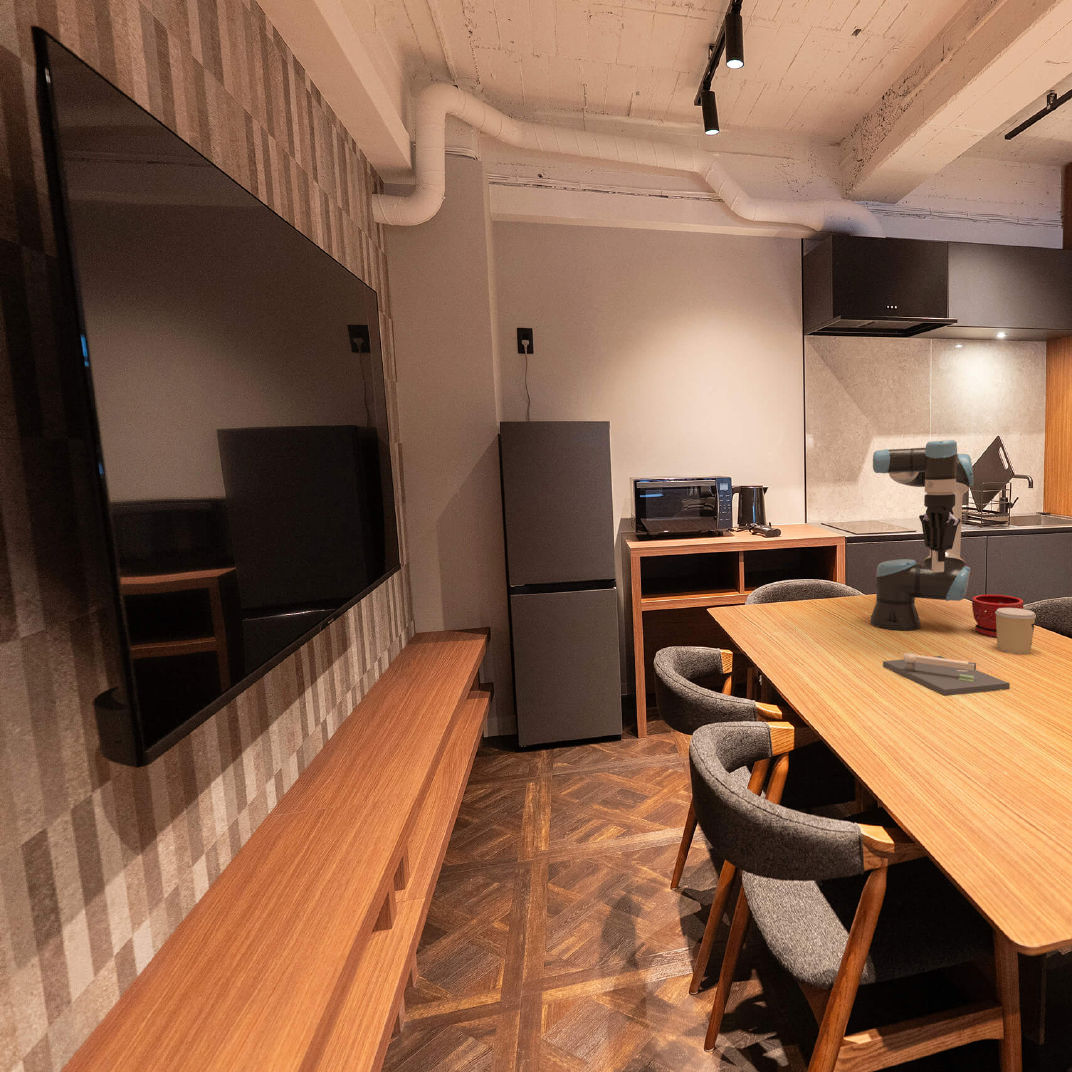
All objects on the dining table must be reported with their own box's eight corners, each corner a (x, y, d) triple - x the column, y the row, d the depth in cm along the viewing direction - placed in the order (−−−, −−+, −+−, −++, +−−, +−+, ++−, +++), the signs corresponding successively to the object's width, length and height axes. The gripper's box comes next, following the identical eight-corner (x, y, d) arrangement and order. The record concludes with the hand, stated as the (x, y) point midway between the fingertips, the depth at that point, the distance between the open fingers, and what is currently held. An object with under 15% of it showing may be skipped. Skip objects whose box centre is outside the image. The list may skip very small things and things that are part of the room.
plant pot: (974, 626, 198) (976, 592, 197) (1024, 632, 189) (1026, 596, 188) (967, 635, 189) (969, 599, 188) (1019, 642, 180) (1021, 604, 179)
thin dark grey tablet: (882, 666, 166) (883, 653, 165) (939, 660, 168) (940, 648, 167) (944, 695, 144) (945, 680, 144) (1009, 688, 146) (1010, 674, 145)
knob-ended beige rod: (902, 661, 157) (903, 655, 157) (904, 658, 160) (904, 652, 160) (975, 671, 148) (975, 665, 147) (975, 668, 150) (976, 661, 150)
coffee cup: (1041, 655, 168) (1043, 615, 166) (1005, 654, 170) (1006, 615, 168) (1021, 645, 177) (1023, 607, 176) (987, 644, 179) (988, 607, 177)
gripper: (911, 493, 175) (909, 568, 178) (946, 495, 162) (943, 577, 165) (934, 491, 175) (932, 566, 179) (970, 493, 162) (967, 574, 166)
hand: (937, 571), depth 172 cm, fingers closed
